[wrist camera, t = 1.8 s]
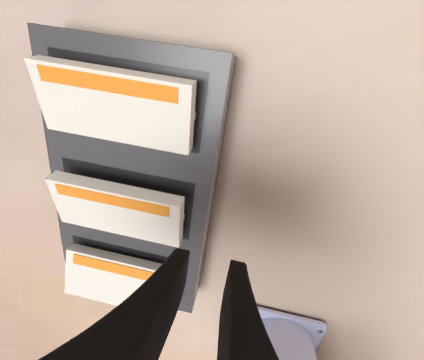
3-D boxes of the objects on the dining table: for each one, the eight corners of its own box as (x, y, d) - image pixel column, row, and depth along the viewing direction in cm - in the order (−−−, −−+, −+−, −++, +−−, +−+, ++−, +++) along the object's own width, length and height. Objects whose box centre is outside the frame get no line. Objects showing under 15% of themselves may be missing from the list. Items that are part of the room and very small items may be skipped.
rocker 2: (173, 307, 20) (168, 319, 19) (75, 282, 21) (63, 293, 20) (180, 265, 20) (175, 275, 18) (77, 241, 20) (65, 249, 19)
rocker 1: (193, 145, 15) (188, 156, 14) (61, 120, 16) (46, 129, 15) (198, 79, 13) (191, 86, 12) (42, 53, 14) (22, 58, 12)
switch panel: (198, 286, 24) (191, 313, 22) (88, 260, 26) (68, 283, 23) (236, 56, 16) (232, 53, 13) (64, 30, 17) (26, 22, 14)
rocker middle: (183, 233, 18) (178, 248, 17) (72, 209, 19) (60, 222, 18) (185, 193, 16) (179, 208, 15) (58, 168, 17) (43, 179, 15)
